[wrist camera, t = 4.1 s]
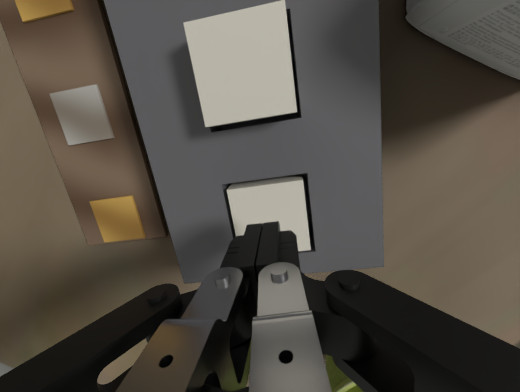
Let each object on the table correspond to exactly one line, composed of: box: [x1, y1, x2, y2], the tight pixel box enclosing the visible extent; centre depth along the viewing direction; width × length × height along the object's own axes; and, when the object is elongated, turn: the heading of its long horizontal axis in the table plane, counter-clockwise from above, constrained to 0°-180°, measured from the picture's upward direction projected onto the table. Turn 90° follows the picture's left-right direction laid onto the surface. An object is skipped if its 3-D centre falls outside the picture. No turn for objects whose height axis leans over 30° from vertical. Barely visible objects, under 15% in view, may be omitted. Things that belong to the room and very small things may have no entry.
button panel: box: [104, 0, 384, 283], centre depth 15 cm, size 24×13×4 cm, turn 9°
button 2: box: [227, 174, 311, 251], centre depth 16 cm, size 4×4×2 cm
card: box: [0, 0, 168, 245], centre depth 18 cm, size 20×7×1 cm, turn 9°
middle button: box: [183, 0, 297, 127], centre depth 12 cm, size 4×4×2 cm
